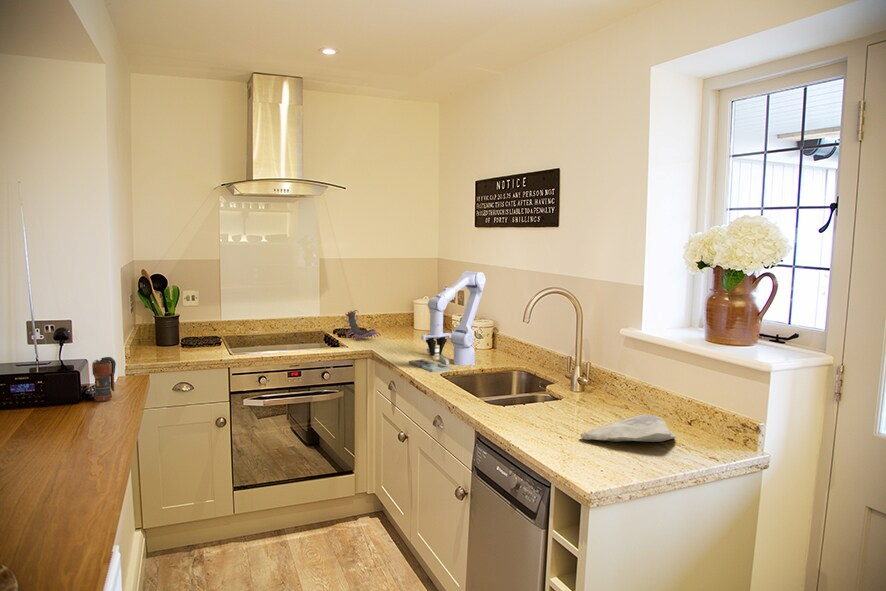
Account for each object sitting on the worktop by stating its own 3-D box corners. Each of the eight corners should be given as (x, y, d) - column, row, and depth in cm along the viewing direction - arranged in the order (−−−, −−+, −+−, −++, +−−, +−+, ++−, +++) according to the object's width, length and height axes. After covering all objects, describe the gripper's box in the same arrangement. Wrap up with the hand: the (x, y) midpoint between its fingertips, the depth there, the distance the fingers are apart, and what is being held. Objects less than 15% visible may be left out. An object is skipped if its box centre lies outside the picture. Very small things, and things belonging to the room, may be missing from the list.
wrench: (445, 372, 278) (424, 352, 306) (449, 372, 279) (428, 352, 306) (446, 356, 276) (425, 337, 304) (450, 356, 277) (429, 337, 304)
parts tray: (438, 367, 275) (438, 363, 275) (449, 371, 268) (449, 367, 267) (421, 369, 270) (421, 365, 270) (432, 373, 263) (432, 369, 262)
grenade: (120, 398, 215) (119, 357, 214) (99, 403, 209) (97, 361, 207) (111, 396, 218) (109, 355, 217) (89, 401, 212) (87, 358, 210)
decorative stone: (695, 423, 174) (594, 434, 171) (697, 447, 174) (596, 458, 171) (651, 408, 202) (564, 417, 199) (653, 429, 202) (566, 438, 198)
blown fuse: (436, 358, 271) (437, 344, 270) (440, 359, 268) (441, 345, 267) (430, 359, 269) (431, 344, 268) (434, 360, 266) (435, 346, 265)
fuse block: (423, 363, 283) (423, 358, 283) (435, 367, 275) (435, 363, 274) (408, 365, 279) (408, 360, 278) (420, 369, 270) (420, 365, 270)
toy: (355, 331, 357) (359, 307, 353) (380, 347, 338) (384, 322, 335) (337, 333, 349) (340, 308, 345) (361, 350, 330) (365, 324, 326)
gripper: (445, 322, 274) (444, 351, 275) (417, 324, 266) (417, 354, 267) (454, 324, 268) (453, 354, 270) (426, 326, 260) (425, 357, 262)
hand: (435, 354), depth 268 cm, fingers closed on blown fuse, 3 cm apart
